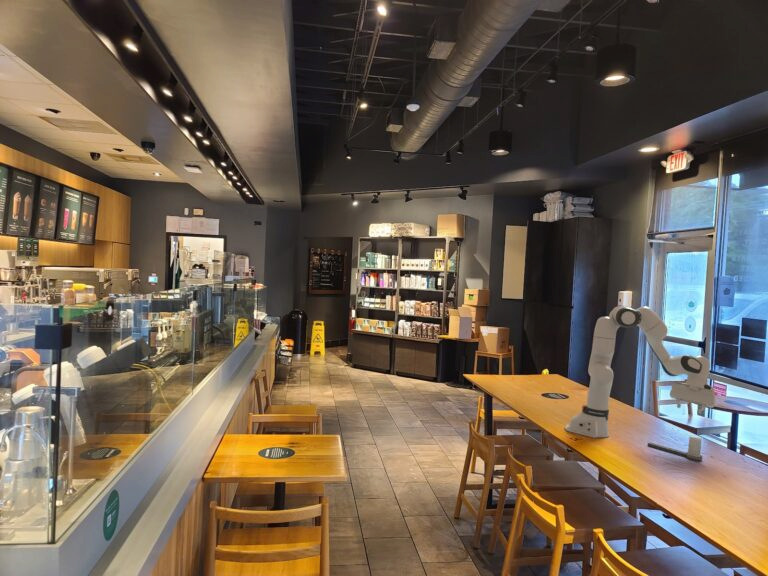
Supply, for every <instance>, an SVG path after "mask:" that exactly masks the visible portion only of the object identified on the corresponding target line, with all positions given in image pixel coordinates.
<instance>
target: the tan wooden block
mask: <svg viewBox="0 0 768 576" xmlns="http://www.w3.org/2000/svg"><path fill="white" fill-rule="evenodd" d="M688 437H689V438H688V446H687V452H688V455H690V456H695V457H700V455H701V448H702V438H700V437H697V436H696V437H695V436H688Z"/></svg>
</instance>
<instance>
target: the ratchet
mask: <svg viewBox="0 0 768 576" xmlns="http://www.w3.org/2000/svg"><path fill="white" fill-rule="evenodd" d="M647 447H650V448H654V449H657V450H660V451H664V452H666V453H667V452H668V453H670V454H673V455H677V456H680V455H681V457H684V458H685V459H688V460H691V461H694V462H703V455H701V454H700V457H695V456H690V455H688V451H682V450H679V449H675V448H671V447H667V446H664V445H661V444H657V443H653V442H648V443H647Z"/></svg>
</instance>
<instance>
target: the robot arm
mask: <svg viewBox="0 0 768 576" xmlns="http://www.w3.org/2000/svg"><path fill="white" fill-rule="evenodd" d="M635 326H637V327H639V329H640V330H641V331H642V333H644V335H645V337H646V340H647V344H648V345H649V347H650V349H651V350H652V353H654V355H655V357H656V358H657V359H658V361H659V363H660V365H661V367H662V369H663V371H664V372H665V374H667V375H668V376H670V377H677V376H680V375H687V379H686V381H685V383H684V382H679V381H675V382H672V384H671V390H670V391H669V397H670V398H671V399H674V400H675V401H676V403H677V404H676V408H678V409H681V406H682V404H681V403H679V402H680V401H682V402H686V403H689V404H695V405H698V406H701V407H700V408H698V409H697V411H696V412H697V413H698V414H702V411H704V410H705V409H706V407H707V408H710V409H712V408H714V407H715V403H716V396H715V391H716V390H715V388H714V387H713V386H711V385H709V384H707V379H708V377H709V375H710V370H711V363H710V360H709V359H708V358H707V357H705V356H702V355H696V356H694V355H691V354H681V355H677V356H672V355H670V353H669V352H668V350H667V349H666V347H665V346H664V344H663V340H664V339H665V338H666V336H667V334H668V327H667V324H666V323H665V322H664V321H663V319H661V317H660V316H659V315H658V314H657V313H656V311H653V309H651V308H650V307H648V306H640V307H638V308H636V309H634V308H632V307H629V306H627V305H616V306H614V307H612V308H611V310H610V311H609V313H608V314H607V315H606V316H601V317H599V318H598V319H597V321H596V323H595V327H594V331H593V339H592V346H591V347H592V348H591V354H590V358H589V363H588V369H587V372H588V375H589V376H590V380H589V387H588V391H587V398H586V404H582V406H581V412H579V413H577V414H575V415H574V416H572V417H571V419H570V421H569V423H567V424H566V425H565V428H564V430H565V431H567V432H570V433H572V434H573V433H574V434H578V435H580V436H581V435H582V436H585V437H590V438H592V439H593V438H594V439H596V438H608V437H610V434H609V433H610V432H609V422H608V421H609V417H610V409H609V405H610V395H611V391H612V386H613V382H614V371H613V368H611V365H612V360H613V357H614V354H615V347H616V337H617V331H618V329H619V328H620V327H622V328H632V327H635Z"/></svg>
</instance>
